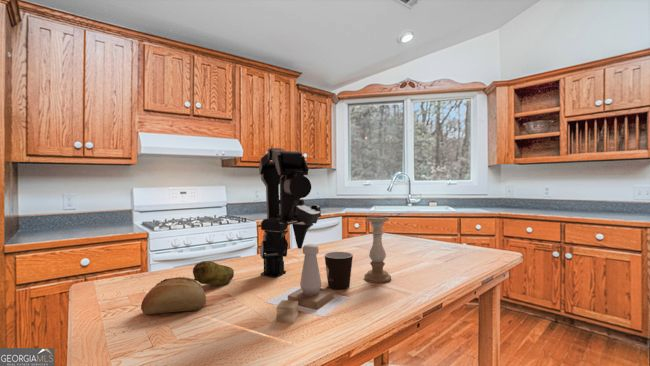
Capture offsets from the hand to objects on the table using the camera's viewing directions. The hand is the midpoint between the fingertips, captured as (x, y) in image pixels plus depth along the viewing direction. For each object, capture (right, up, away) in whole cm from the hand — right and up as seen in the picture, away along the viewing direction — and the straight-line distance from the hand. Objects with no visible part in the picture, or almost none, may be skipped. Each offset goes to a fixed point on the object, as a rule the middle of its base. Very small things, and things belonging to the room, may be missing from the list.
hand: (290, 251), depth 88 cm
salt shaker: (+6, -11, -3) cm, 13 cm away
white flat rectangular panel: (+5, -13, -3) cm, 14 cm away
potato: (-25, -13, +11) cm, 30 cm away
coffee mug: (+14, -13, +9) cm, 21 cm away
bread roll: (-29, -14, -8) cm, 33 cm away
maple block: (+1, -13, -14) cm, 19 cm away
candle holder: (+27, -13, +16) cm, 34 cm away
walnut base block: (+6, -12, -3) cm, 14 cm away
